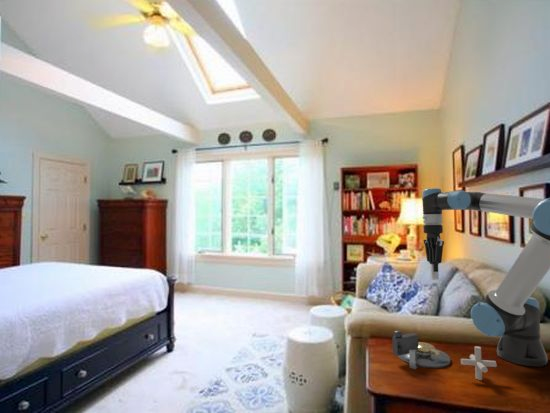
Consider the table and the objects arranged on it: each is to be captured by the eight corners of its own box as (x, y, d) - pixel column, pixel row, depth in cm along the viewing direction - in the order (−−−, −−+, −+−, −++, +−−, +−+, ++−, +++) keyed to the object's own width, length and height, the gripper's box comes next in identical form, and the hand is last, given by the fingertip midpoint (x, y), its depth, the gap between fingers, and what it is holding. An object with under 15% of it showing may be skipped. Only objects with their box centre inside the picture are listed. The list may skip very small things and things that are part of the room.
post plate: (460, 360, 122) (459, 343, 123) (425, 374, 111) (425, 356, 112) (416, 345, 138) (416, 330, 138) (382, 356, 127) (382, 340, 127)
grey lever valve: (417, 341, 133) (416, 321, 133) (445, 353, 121) (444, 330, 121) (382, 348, 126) (382, 326, 126) (409, 361, 114) (408, 337, 114)
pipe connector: (503, 387, 102) (501, 354, 103) (467, 384, 104) (466, 352, 105) (489, 373, 112) (488, 342, 113) (456, 370, 114) (456, 340, 115)
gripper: (417, 224, 151) (418, 276, 150) (432, 224, 138) (434, 282, 137) (433, 224, 152) (435, 276, 150) (449, 224, 139) (451, 281, 137)
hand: (434, 279), depth 144 cm, fingers closed
